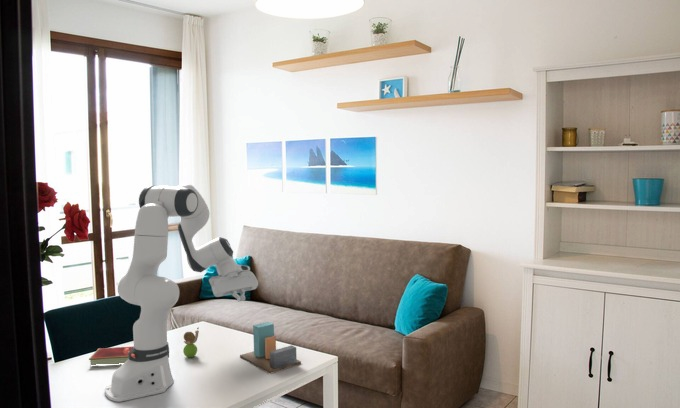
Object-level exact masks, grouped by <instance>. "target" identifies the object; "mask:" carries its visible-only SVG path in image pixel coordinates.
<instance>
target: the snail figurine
mask: <svg viewBox="0 0 680 408" xmlns="http://www.w3.org/2000/svg"><path fill="white" fill-rule="evenodd" d="M199 332H200V331H199V326H197V327H196V330H195V332H192V331H186V332H185V333H184V334H183V339H184V341H183V343H184V344H185V345H184V347H183V351H182V352H183V355H184V356H185V357H186V358H194V357H195V356H196V355H197V352H198V347H197V345H196V344H195V343H197V340H198V338H199V334H200V333H199Z"/></svg>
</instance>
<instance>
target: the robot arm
mask: <svg viewBox="0 0 680 408" xmlns="http://www.w3.org/2000/svg"><path fill="white" fill-rule="evenodd" d="M138 205H139V210H138V213H137V218H136V221H135V227H134V237H133V251H132V258H131V262H130V265H129V268H128V271H127V272H126V274H125V275H124V276H123V277H122V278H121V279H120V280H119V282H118V284H117V293H118V296H119V297H120V298H121V299H122V300H124V301H125V302H127V303H128V304H130V305H131V304H132V305H134V306H140V313H139V318H138V319H137V320H135V322H134V323H133V326H132V335H133V336H132V337H133V338H132V339H133V348H132V349H131V350H130V349H129V348H125V350H124V353H125V354H126V355H128V357H129V359H128V360H127V361H126V362H125V363H124V364H123V365H119V367H118V368H117V369H116V370H114V372H113V374H112V377H111V384H110V385H107V386H106V387H105V389H104V395H105V396H106V398H107V399H108V400H110V401H113V402H119V403H120V402H124V401H130V400H133V399H139V398H144V397H147V396H152V395H156V394H163V393H165V392H166V391H167V389H168V388H169V387H170V386H172V384H173V383H174V382H175V381H174V380H175V379H174V378H173V375H172V371H171V368H170V360H169V358H170V348H169V342H168V331H167V330H168V329H167V327H168V325H167V324H168V317H169V314H170V312H171V310H172V308H173V307H174V306H175V305H176V303H177V302H178V301H179V298H180V288H179V285H178V284H177V283H176V282H175V281H173V280H171V279H169V278H167V277H164V276H159V275H158V274H157V273H158V269H159V268H160V265H161V264H162V263H163V262H164V261H166V260H167V255H168V244H169V242H168V241H169V221H168V220H169V217H179V218H180V222H179V224H178V225H177V231H178V234H179V237H180V240H181V243H182V246H183V249H184V252H185V254H186V260H187V265H188V267H189V268H190V269H191V270H192V271H193V272H196V273H203V272H204V271H205V270H207V269H209V268H212V267H215V268H216V272H217V274H218V275H216V276H211V277H210V278H209V279H208V283H209V284H210V286H211V290H212V293H213V296H215V298H220V297H224V296H225V297H226V296H229V295H231V296H232V297H234V298H235V299H236V300H237V302H244V301H246V296H245V293H246V292H248V291H253V290H256V289H257V288H258V286H259V281H258V279H257V277H256V276H255V275H256V274H254V273H253V272H252V271H251V267H250V266H248V265H243V264H237V262H236V261H235V259H234V256H233V255H234V250H233V249H232V247H231V244H230V241H228V239H226V238H224V237H216V238H214V239H212V240H210V241H208V242H206V243H204V244H202V245H200V246H198V247H195V246H194V242H193V237H195V235H196V234H197V233H199V231H200V230H202V229H203V228H204V227H205V226H206V224H207V223H208V221H209V219H210V215H211V213H210V209H209V207H208V205H207V203H206V201H205V199H204V197H203V196H202V194H201V193H200V192H199V191H198V190H197V188H195V186H194V185H192V184H190V183H181V184H179V185H177V186H174V185H173V186H171V185H158V186H157V185H151V186H150V185H149V186H146V187H144V188H143V189H142V190H141V192H140V194H139V197H138ZM239 294H240V295H239Z"/></svg>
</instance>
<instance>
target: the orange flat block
mask: <svg viewBox="0 0 680 408" xmlns="http://www.w3.org/2000/svg"><path fill="white" fill-rule="evenodd" d="M276 341H277V338H276V336H275V335H274V336H271V337H267V338H265V358H266V359H270V351H274V350H277V342H276Z"/></svg>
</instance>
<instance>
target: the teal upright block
mask: <svg viewBox="0 0 680 408" xmlns="http://www.w3.org/2000/svg"><path fill="white" fill-rule="evenodd" d="M274 326H275V324H274V323H272V322H269V321H265V322H262V323H257V324H253V325H252V327H253V332H252V335H253V351H254V355H255V356H257V357H259V358H260V357H264V356H265V338H267V337H271V336H275V327H274Z"/></svg>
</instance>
